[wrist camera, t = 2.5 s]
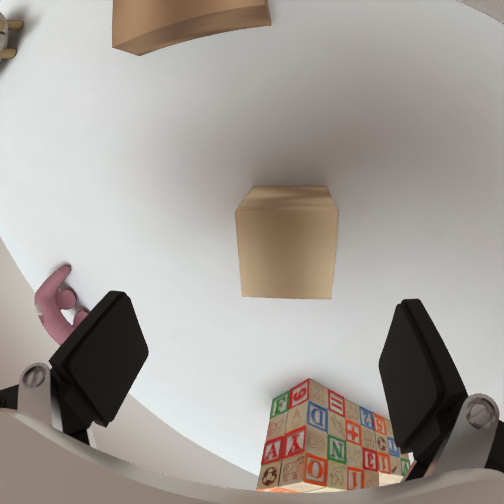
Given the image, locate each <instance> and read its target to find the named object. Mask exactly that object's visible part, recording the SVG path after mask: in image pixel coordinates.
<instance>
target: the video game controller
mask: <svg viewBox="0 0 504 504" xmlns="http://www.w3.org/2000/svg"><path fill="white" fill-rule="evenodd" d="M69 272H70V267H69V266H64V267H62V268H60V269H58V270H57V271H56V272H54V273H53V274H52V275H51V276H50V277H48V278H47V279H46V280H45V282H44V283H43V284H42V285H41V286H40V288H39V289H38V290H37V292H36V294H35V306H36V312H37V314H38V316H39V318H40V320H41V322H42V324H43V326H44V328H45V329H46V331H47V332H48V333H49V335H50V336H51V337H52V338H53V339H54V340H55V341H56V342H57V343H58V344H59V345H60V346H61V345H62V344H63V343H64V341H65V340H66V339H67V338H68V337H69V335H70V334H71V333H72V332H73V331H74V330H75V329H76V327H77V326H78V325H79V324H80V323H81V322H82V321H83V319H84V318H85V317H86V316H87V315H88V313H87V312H85V311H79V312H77V313H76V315H75V317H74V320H73V325H71V324H70V323H69V322H68V321H67V320H66V319H65V317H64V316H63V314H62V313H61V311H60V310H61V309H64V310H68V309H71V308H72V307H73V306H74V305H75V302H76V299H75V296H74V294H73V292H72V291H70V290H63V291H58V288H59V286H60V284H61V283H62V282H63V281H64V279H65V278H66V277H67V275H68V274H69Z"/></svg>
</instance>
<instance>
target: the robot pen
mask: <svg viewBox="0 0 504 504" xmlns="http://www.w3.org/2000/svg"><path fill="white" fill-rule="evenodd" d="M458 1H460V2H462V3H465V4H467V5H469V6H471V7H473V8H475V9H477V10H479V11H481V12H483V13H485V14H487V15H489V16H491V17H493V18H494V19H496V20H498V21H500V22H501V23H503V24H504V0H458Z"/></svg>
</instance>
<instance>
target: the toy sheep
mask: <svg viewBox="0 0 504 504" xmlns="http://www.w3.org/2000/svg"><path fill="white" fill-rule="evenodd" d="M22 26H23V22H22V21H13V20H6V19H5V17H4V15H3V14H2V13H0V61H1V59H2V58H13V57H14V56H15V54H16V49H6V48H7V44H8V38H9V33H8V30H19V29H21V27H22Z"/></svg>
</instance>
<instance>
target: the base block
mask: <svg viewBox="0 0 504 504" xmlns="http://www.w3.org/2000/svg"><path fill="white" fill-rule="evenodd" d="M270 25H271V20H270V14H269V8H268V2H267V0H113V17H112V48H116V49H119V50H122V51H126V52H129V53H132V54H135V55H138V56H141V55H144V54H147V53H150V52H152V51H155V50H158V49H161V48H164V47H167V46H171V45H174V44H177V43H181V42H184V41H188V40H192V39H196V38H200V37H204V36H208V35H213V34H218V33H223V32H228V31H233V30H239V29H246V28H253V27H261V26H270Z"/></svg>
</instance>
